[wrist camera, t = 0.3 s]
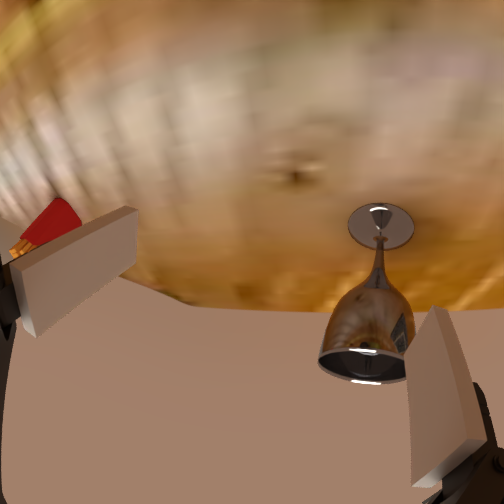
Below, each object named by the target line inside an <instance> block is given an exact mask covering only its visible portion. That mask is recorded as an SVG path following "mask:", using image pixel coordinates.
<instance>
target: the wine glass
mask: <svg viewBox="0 0 504 504" xmlns="http://www.w3.org/2000/svg"><path fill="white" fill-rule="evenodd" d="M348 230H349V233H350V235H351V237H352V238H353V239H354V240H355V241H356V242H357V243H359V244H360V245H362V246H364V247H366V248H369V249H372V250H376V255H375V260H374V264H373V268H372V271H371V273H370V275H369V276H368V277H367V278H366V279H365V280H364V281H363V282H362V283H360V284H359V285H357V286H356V287H354V288H353V289H351V290H350V291H349V292H347V293H346V294H345V295H344V296H343V297H342V298H341V299H340V300H339V302H338V304H337V305H336V307H335V309H334V311H333V313H332V315H331V317H330V320H329V323H328V326H327V328H326V330H325V334H324V337H323V341H322V344H321V348H320V353H319V357H318V365H319V367H320V368H321V369H322V370H323V371H325V372H326V373H328V374H330V375H332V376H335V377H338V378H341V379H344V380H348V381H352V382H358V383H365V384H390V383H396V382H400V381H404V380H406V371H405V362H404V354H405V352H406V350H407V349H408V347H409V345H410V344H411V342H412V340H413V339H414V337H415V335H416V328H415V327H416V326H415V321H414V316H413V312H412V309H411V306H410V304H409V303H408V301H407V300H406V298H405V297H404V296H403V295H402V294H401V293H400V292H399V291H398V290H397V289H396V288H395V287H394V286H393V285H392V284H391V282H390V281H389V280H388V278H387V276H386V273H385V265H384V251H389V250H394V249H398V248H400V247H402V246H404V245H405V244H406V243H408V242H409V241H410V239H411V238H412V236H413V234H414V223H413V220H412V219H411V217H410V216H409V215H408V213H407V212H405V211H404V210H403V209H401V208H399V207H397V206H394V205H391V204H386V203H373V204H368V205H365V206H362V207H361V208H359V209H357V210H356V211H355V212H354V213H353V214H352V215H351V216H350V218H349V221H348Z"/></svg>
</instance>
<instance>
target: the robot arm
mask: <svg viewBox="0 0 504 504" xmlns="http://www.w3.org/2000/svg"><path fill="white" fill-rule="evenodd" d="M138 213H139V210H138V209H135V208H132V207H129V206H123V207H121V208H119V209H117V210H114V211H112V212H110V213H108V214H106V215H103V216H101V217H99V218H97V219H95V220H93V221H91V222H88V223H86V224H84V225H82V226H80V227H78V228H76V229H74V230H72V231H70V232H68V233H66V234H64V235H62V236H60V237H58V238H56V239H54V240H52V241H48V242H45V243H43V244H41V245H39V246H38V247H37V248H34V249H32V250H30V251H29V253H28V252H26V253H24V254H23V255H21V256H19V257H17V258H15V259H13V260H12V261H10V262H8V263H7V264H5V265H3V266H2V261H1V256H0V504H7V503H6V500H5V499H4V496H3V493H2V484H1V440H2V422H3V410H4V400H5V390H6V384H7V377H8V370H9V364H10V358H11V353H12V348H13V342H14V338H15V333H16V321H15V320H16V319H18V318H19V317H20V316H21V319H22V323H23V326H24V329H25V330H26V331H28V332H29V333H30V334H32V335H33V336H34V337H36V338H38V337H39V336H40V335H41V334H43V333H44V332H45V331H46V330H47V329H49V328H50V327H51V326H53V325H54V324H55V323H57V322H58V321H59V320H60V319H62V318H63V317H64V316H66V314H68V313H69V312H71V311H72V310H73V309H75V308H76V307H77V306H78V305H80V304H81V303H82V302H84V301H85V300H86V299H88V298H89V297H90V296H92V295H93V294H94V293H96V292H97V291H98V290H100V289H101V288H102V287H104V286H105V285H106V284H108V283H109V282H110V281H111V280H113V279H114V278H116V277H117V276H119V275H120V274H121V273H123V272H124V271H126V270H127V269H128V268H130V267H131V266H132V265H134V264H135V263H136V248H137V229H138ZM404 362H405V371H406V380H407V390H408V401H409V402H408V403H409V416H410V434H411V435H410V436H411V486H413V487H424V488H431V487H432V486H434V485H435V484H436V483H437V482H439V481H440V480H442V489H441V490H439V491H438V492H437V493H435V494H434V495H432V496H431V497H429V498H428V499H426V500H425V501H424V502H422V503H423V504H426V503H427V502H428V503H427V504H504V449H503V448H500V447H498V446H497V441H496V437H495V433H494V428H493V425H492V421H491V417H490V416H489V414H490V413H489V409H488V407H487V402H486V399H485V395H484V393H483V391H482V390H481V388H480V387H479V385H478V384H477V383H475V382H472V379H471V376H470V372H469V369H468V366H467V363H466V360H465V357H464V354H463V351H462V348H461V345H460V342H459V340H458V337H457V334H456V331H455V329H454V326H453V323H452V321H451V318H450V316H449V313H448V311H447V310H446V309H443V308H440V307H437V306H434V305H432V307H431V309H430V310H429V312H428V314H427V316H426V318H425V320H424V321H423V323H422V325H421V327H420V328H419V330H418V332H417V334H416V335H415V337H414V339H413V340H412V342H411V344H410V345H409V347H408V349H407V350H406V352H405V354H404Z"/></svg>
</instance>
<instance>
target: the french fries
mask: <svg viewBox="0 0 504 504" xmlns="http://www.w3.org/2000/svg"><path fill="white" fill-rule="evenodd" d="M80 226H82V224H81V220H80V219H79V217H78V216H77V214H76V213H75V212H74V210H73V209H72V208H71V206H70V205H69V204H68V203H67V202H66V201H64V200H63V199H62V198H55V199H54V200H53V201H52V202H51V203H50V204H49V205H48V207H47V208H46V209H45V210H44V211H43V212H42V213H41V214H40V215H39V216H38V217H37V218H36V219H35V221H34V222H33V223H32V224H31V225H30V226H29V227H28V228H27V230H26V231H25V232H24V233H23V234H22V235H21V237H20V239H21V240H20V241H19V242H18V243H17V244H16V245H14V246H13V247H12V248H11V249H10V250H9V251H10V253H12V256H13V258H14V259H15V258H17V257H19V256H21V255H23V254H24V253H26V252H28V253H29V251H30V250H32V249H34V248H37V247H38V246H39V245H41V244H43V243H45V242H48V241H52V240H54V239H56V238H58V237H60V236H62V235H64V234H66V233H68V232H70V231H72V230H74V229H76V228H78V227H80Z"/></svg>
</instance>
